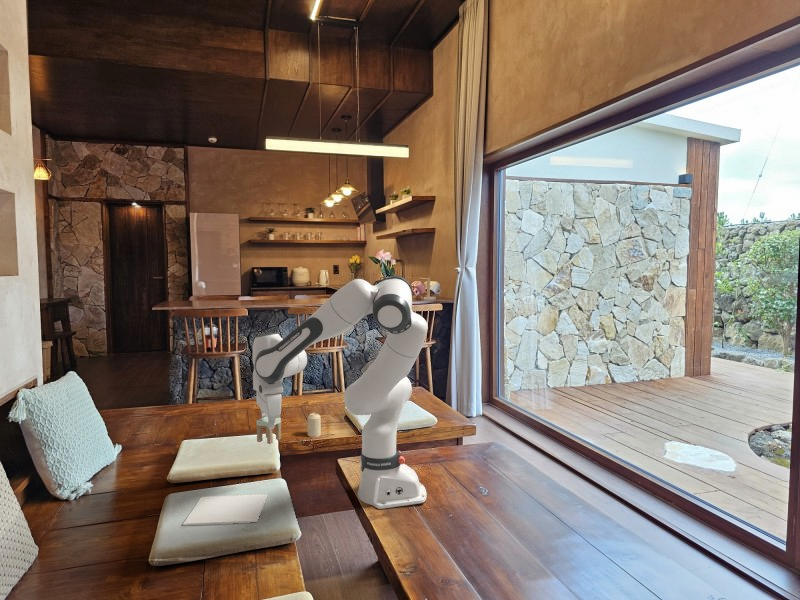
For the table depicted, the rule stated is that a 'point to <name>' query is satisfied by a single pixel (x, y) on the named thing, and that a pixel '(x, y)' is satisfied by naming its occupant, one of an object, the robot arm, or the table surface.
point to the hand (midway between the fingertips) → (268, 424)
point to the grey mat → (226, 510)
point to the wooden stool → (269, 434)
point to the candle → (314, 425)
